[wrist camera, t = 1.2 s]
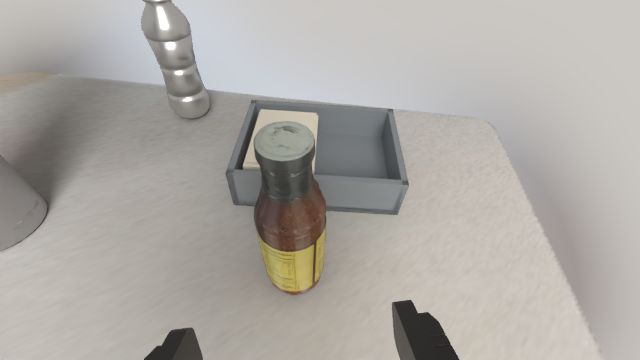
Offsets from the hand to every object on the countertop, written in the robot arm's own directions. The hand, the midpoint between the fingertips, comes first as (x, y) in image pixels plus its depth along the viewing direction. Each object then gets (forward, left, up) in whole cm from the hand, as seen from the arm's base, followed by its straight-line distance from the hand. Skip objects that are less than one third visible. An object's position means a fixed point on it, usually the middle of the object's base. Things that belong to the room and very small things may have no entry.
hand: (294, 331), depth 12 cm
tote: (0, +29, -19) cm, 35 cm away
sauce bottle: (-2, +12, -20) cm, 23 cm away
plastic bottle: (-23, +41, -20) cm, 51 cm away
